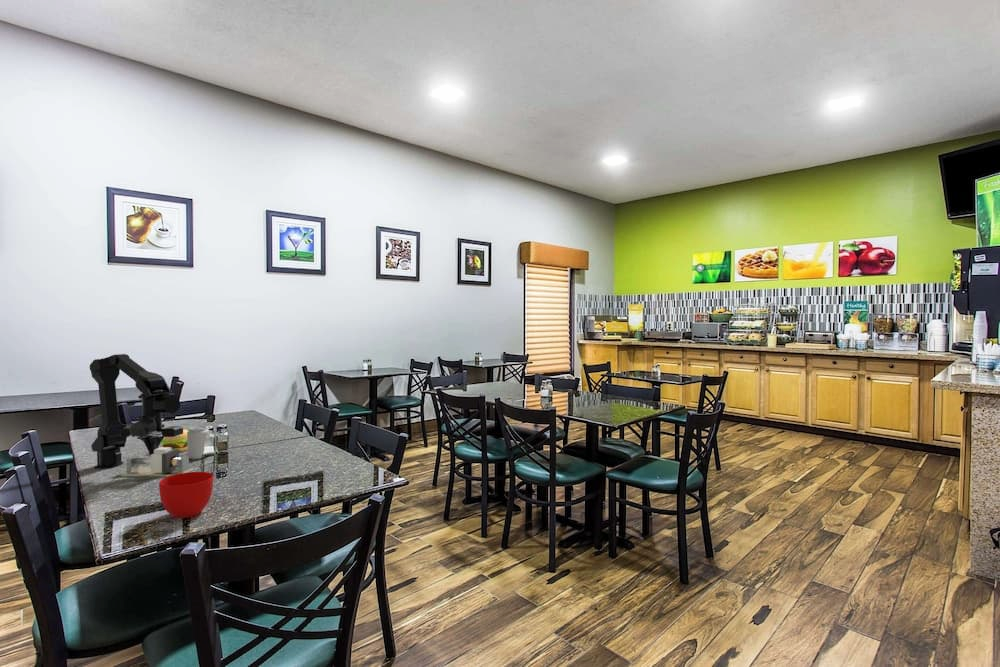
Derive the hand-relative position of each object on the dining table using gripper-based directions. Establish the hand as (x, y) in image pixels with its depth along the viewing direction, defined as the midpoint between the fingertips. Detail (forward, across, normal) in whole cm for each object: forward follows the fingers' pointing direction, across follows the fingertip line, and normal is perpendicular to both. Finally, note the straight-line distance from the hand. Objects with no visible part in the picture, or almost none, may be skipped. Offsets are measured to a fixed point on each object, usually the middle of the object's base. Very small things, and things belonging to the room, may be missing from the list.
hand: (152, 455), depth 180 cm
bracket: (+6, +4, 0) cm, 7 cm away
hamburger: (+6, -12, +32) cm, 35 cm away
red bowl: (+6, +36, -36) cm, 51 cm away
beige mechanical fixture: (+6, +2, 0) cm, 6 cm away
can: (+6, +4, +20) cm, 21 cm away
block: (+6, +6, 0) cm, 9 cm away
